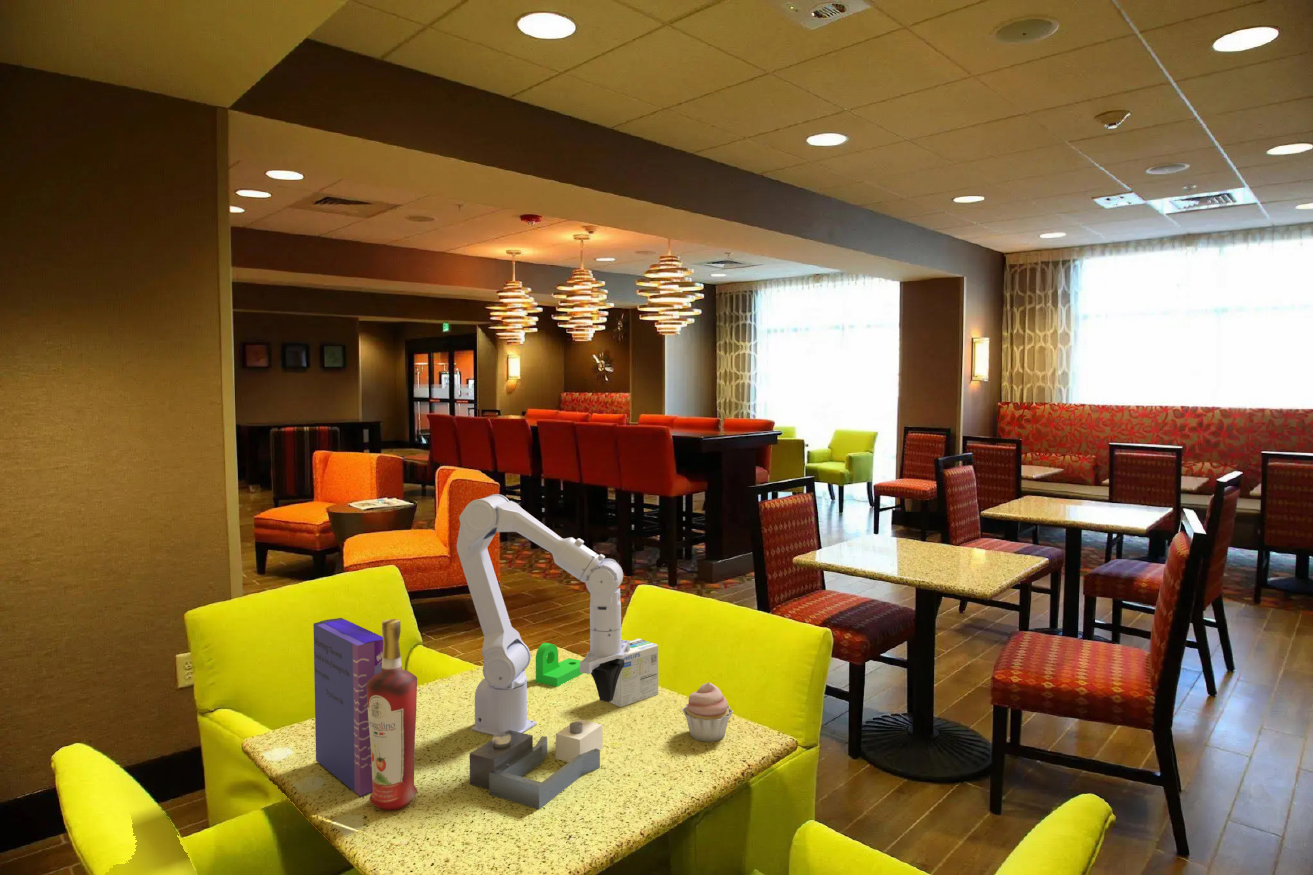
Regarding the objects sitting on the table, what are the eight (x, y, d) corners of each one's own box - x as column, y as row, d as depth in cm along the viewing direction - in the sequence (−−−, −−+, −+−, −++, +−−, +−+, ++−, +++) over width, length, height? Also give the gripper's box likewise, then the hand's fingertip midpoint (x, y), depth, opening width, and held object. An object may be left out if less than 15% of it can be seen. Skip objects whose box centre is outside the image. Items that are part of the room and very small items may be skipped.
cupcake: (696, 751, 133) (696, 694, 133) (673, 730, 142) (673, 677, 141) (742, 741, 137) (742, 686, 137) (717, 722, 146) (717, 670, 145)
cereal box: (389, 786, 121) (387, 637, 120) (360, 797, 117) (357, 644, 117) (343, 751, 133) (341, 616, 132) (315, 760, 130) (313, 622, 129)
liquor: (357, 811, 113) (354, 626, 112) (387, 788, 120) (384, 613, 119) (400, 818, 111) (397, 630, 110) (428, 794, 118) (426, 616, 117)
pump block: (555, 759, 130) (555, 726, 130) (579, 743, 136) (578, 712, 136) (580, 766, 128) (579, 732, 128) (602, 749, 134) (602, 718, 134)
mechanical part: (557, 687, 164) (557, 650, 164) (535, 682, 168) (535, 646, 167) (589, 670, 175) (589, 636, 175) (568, 666, 178) (568, 632, 178)
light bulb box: (638, 686, 164) (638, 637, 164) (659, 695, 159) (659, 644, 159) (600, 699, 157) (599, 647, 157) (620, 708, 152) (620, 655, 152)
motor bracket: (464, 787, 120) (464, 749, 120) (525, 748, 134) (525, 713, 134) (545, 811, 113) (545, 770, 113) (601, 767, 127) (600, 730, 127)
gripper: (603, 640, 131) (604, 718, 132) (643, 620, 144) (644, 690, 144) (569, 635, 134) (570, 711, 135) (611, 615, 147) (612, 684, 148)
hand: (606, 700), depth 140 cm, fingers closed
